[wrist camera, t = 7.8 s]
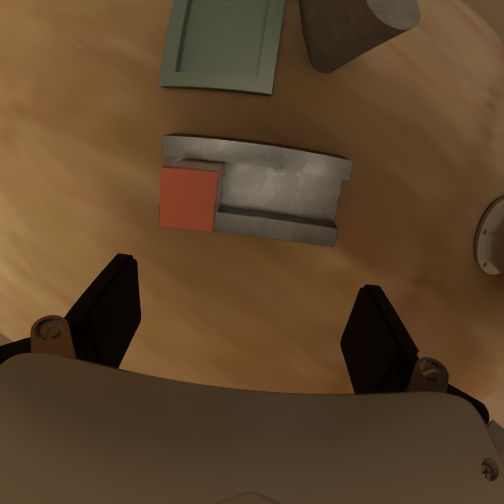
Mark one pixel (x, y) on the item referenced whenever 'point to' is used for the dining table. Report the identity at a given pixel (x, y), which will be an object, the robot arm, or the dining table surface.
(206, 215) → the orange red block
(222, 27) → the tray
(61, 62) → the dining table surface
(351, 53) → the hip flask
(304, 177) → the switch panel
